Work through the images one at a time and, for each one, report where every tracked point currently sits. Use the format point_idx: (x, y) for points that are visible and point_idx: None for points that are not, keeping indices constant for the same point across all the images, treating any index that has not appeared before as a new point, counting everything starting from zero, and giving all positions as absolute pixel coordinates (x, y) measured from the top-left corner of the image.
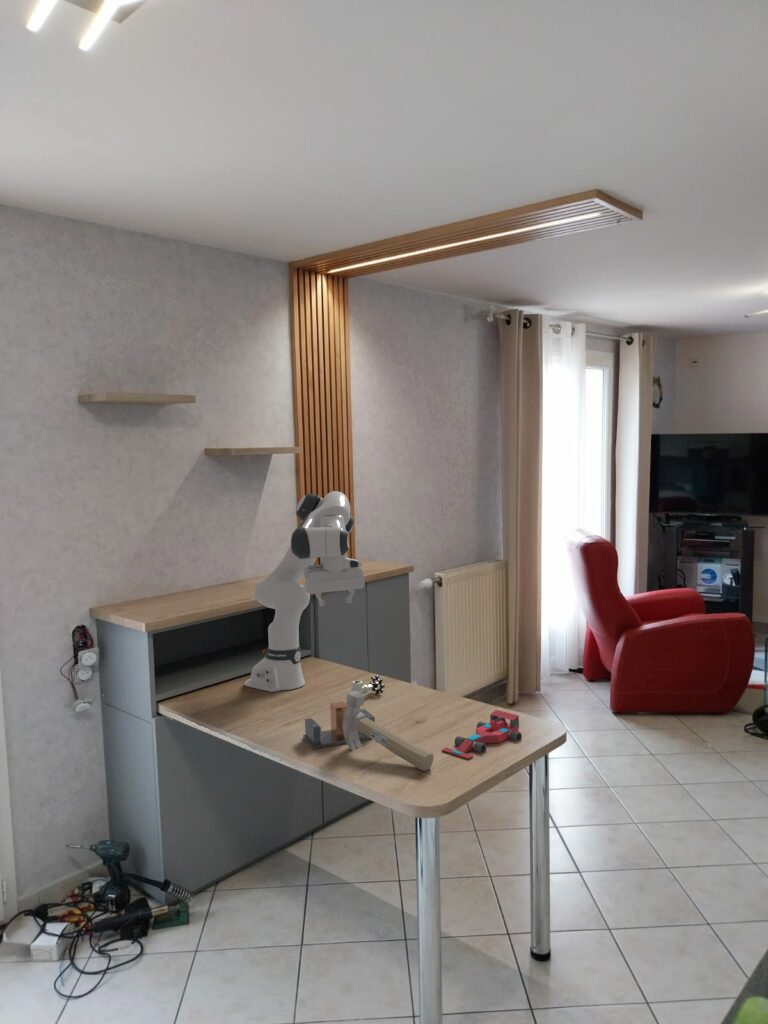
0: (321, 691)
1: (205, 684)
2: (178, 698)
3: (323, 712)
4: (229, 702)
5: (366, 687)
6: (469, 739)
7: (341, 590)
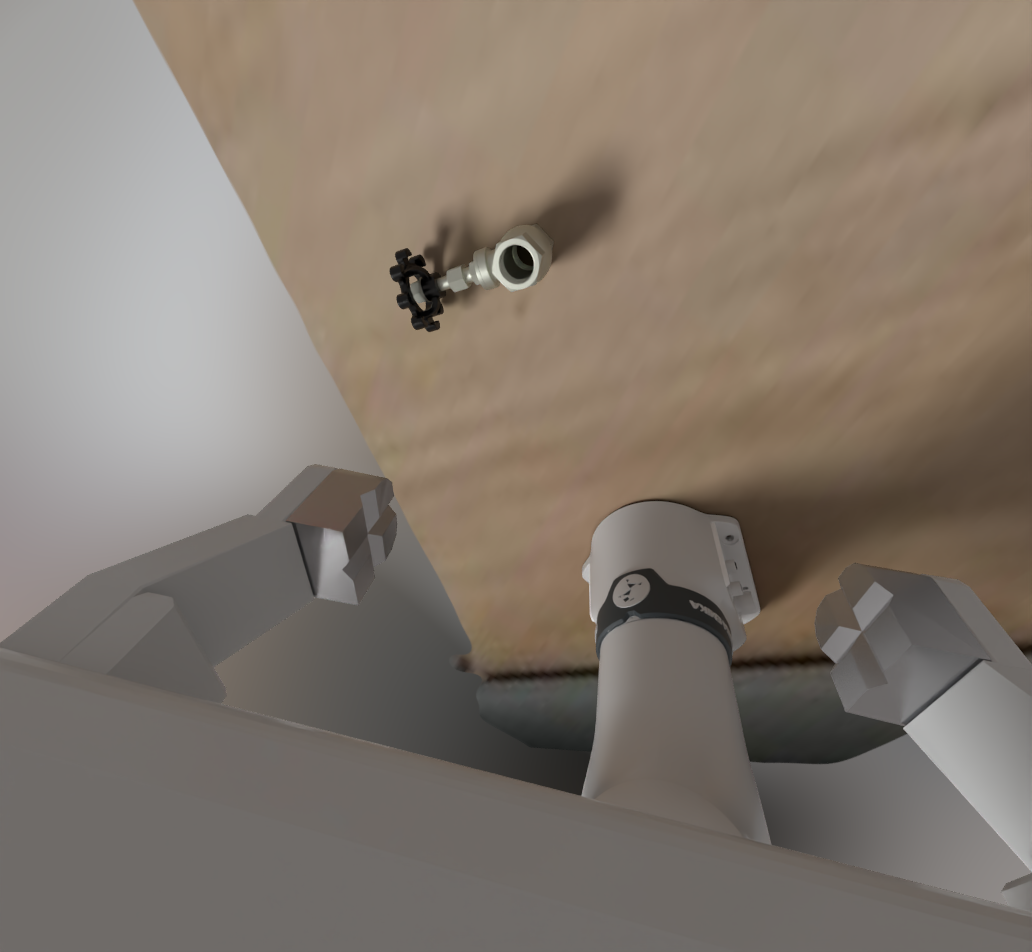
0: (594, 431)
1: None
2: None
3: (741, 176)
4: (921, 516)
5: (479, 254)
6: None
7: (403, 753)
